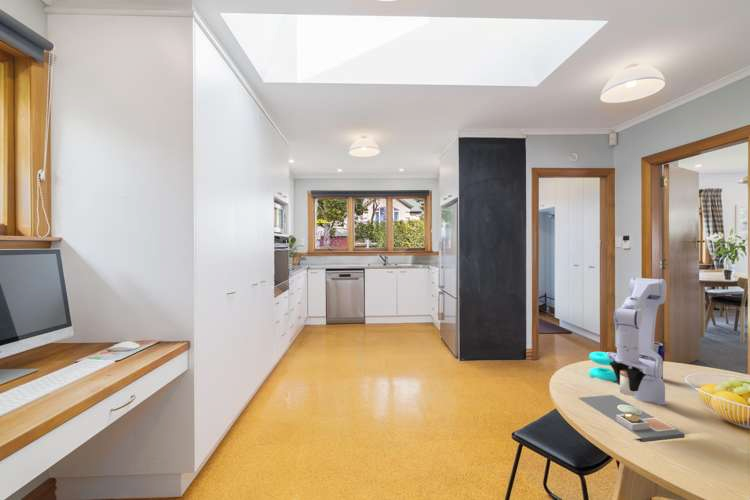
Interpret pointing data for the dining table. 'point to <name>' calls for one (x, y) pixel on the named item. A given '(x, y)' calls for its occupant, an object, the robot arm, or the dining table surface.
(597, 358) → the donuts
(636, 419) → the button
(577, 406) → the dining table surface
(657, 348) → the beverage can
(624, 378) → the white cylinder
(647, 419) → the board
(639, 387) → the robot arm
